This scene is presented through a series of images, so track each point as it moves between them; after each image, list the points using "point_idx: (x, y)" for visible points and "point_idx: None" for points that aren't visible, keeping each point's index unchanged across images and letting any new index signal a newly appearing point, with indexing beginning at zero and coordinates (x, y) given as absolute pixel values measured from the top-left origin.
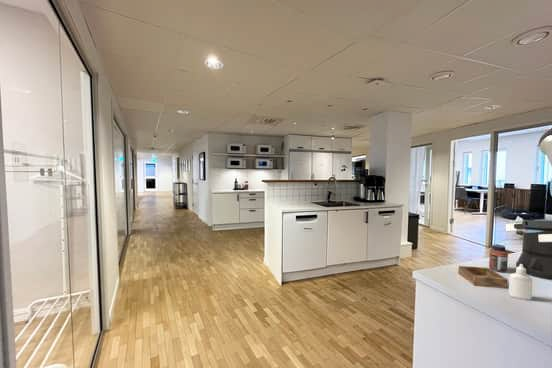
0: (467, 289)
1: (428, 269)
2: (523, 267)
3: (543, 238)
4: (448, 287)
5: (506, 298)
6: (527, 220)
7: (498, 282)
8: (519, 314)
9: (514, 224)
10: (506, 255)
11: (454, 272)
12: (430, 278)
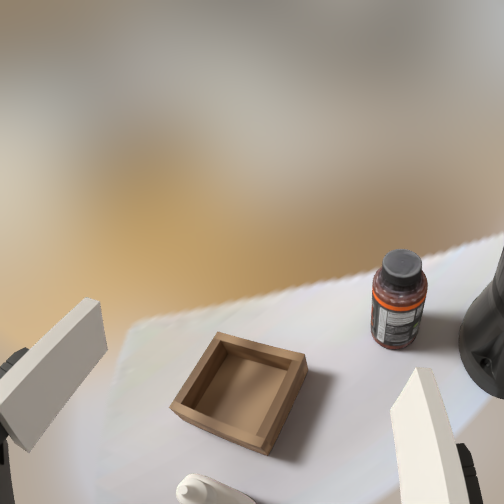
0: (140, 429)
1: (173, 315)
2: (189, 499)
3: (406, 420)
4: (110, 406)
5: None
6: None
7: (236, 441)
8: None
9: (19, 353)
10: (408, 308)
11: None
12: (122, 358)
